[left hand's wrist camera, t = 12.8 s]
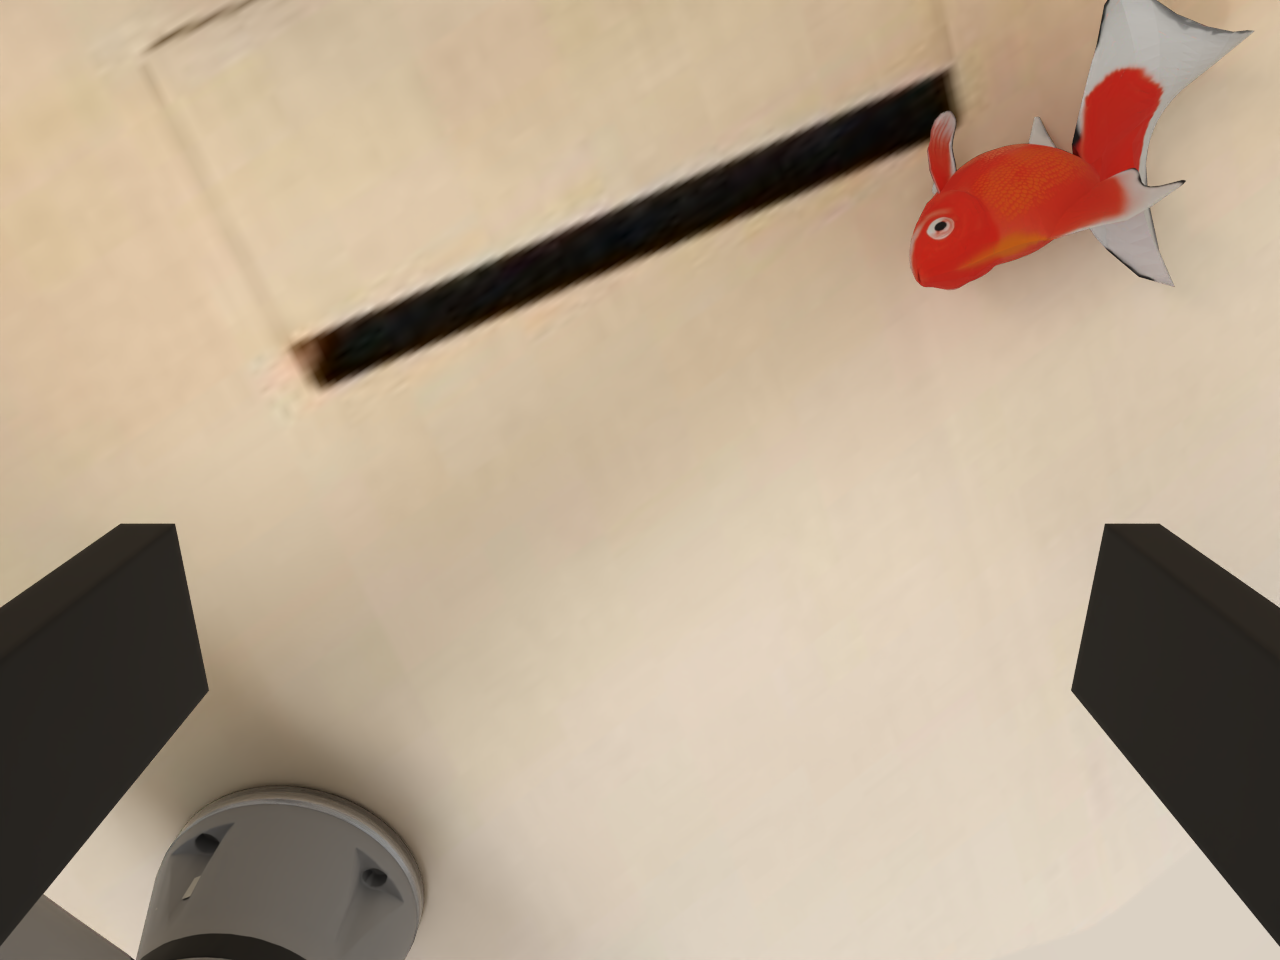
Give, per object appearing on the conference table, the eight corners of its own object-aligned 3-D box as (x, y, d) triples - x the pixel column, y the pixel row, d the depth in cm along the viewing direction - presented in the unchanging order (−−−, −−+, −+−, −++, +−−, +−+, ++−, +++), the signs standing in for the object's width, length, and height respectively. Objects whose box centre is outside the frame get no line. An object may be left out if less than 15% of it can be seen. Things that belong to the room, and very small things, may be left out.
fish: (837, 32, 32) (1063, 75, 25) (1127, -57, 37) (1387, -43, 30) (836, 294, 39) (1013, 387, 32) (1081, 190, 44) (1284, 250, 36)
